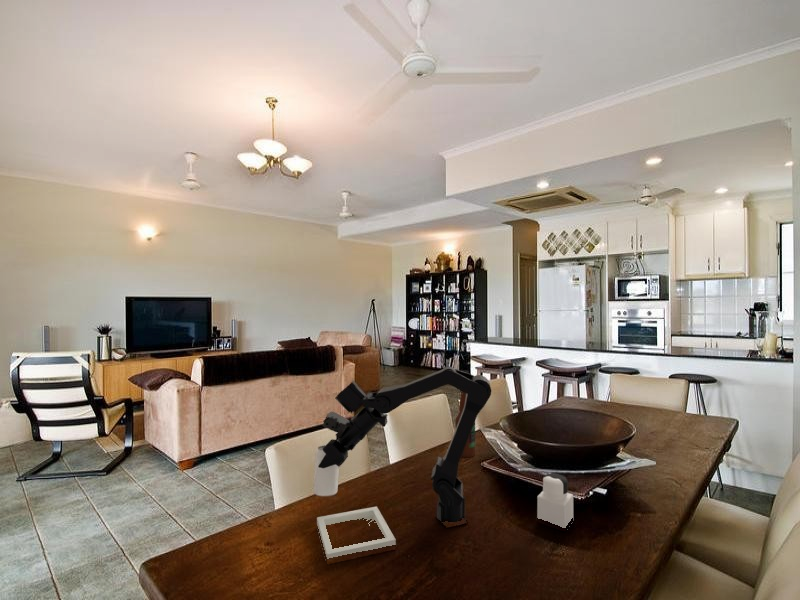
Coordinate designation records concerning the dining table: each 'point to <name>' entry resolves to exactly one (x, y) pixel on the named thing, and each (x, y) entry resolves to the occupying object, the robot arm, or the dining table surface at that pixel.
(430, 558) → the dining table surface
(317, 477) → the can
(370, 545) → the tray
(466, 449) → the bottle
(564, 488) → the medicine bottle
